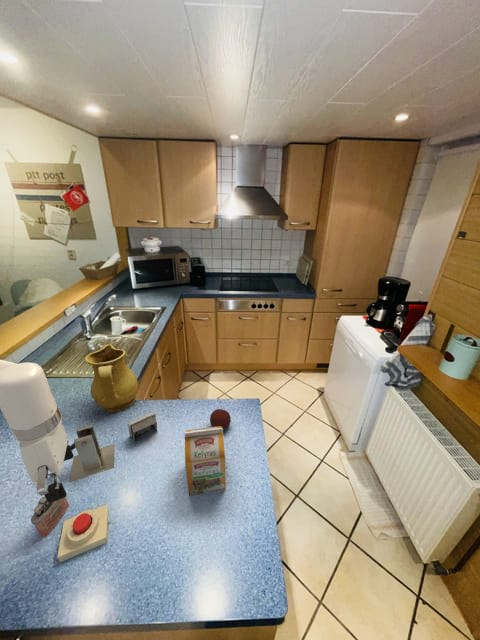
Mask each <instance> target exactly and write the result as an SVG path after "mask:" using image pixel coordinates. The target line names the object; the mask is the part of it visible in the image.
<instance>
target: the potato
mask: <svg viewBox="0 0 480 640" xmlns="http://www.w3.org/2000/svg"><path fill="white" fill-rule="evenodd" d="M231 421H232V420H231V414H230V412H229V411H227V410H225V409H223V408H217V409H214V410H213V411H212V412H211V414H210V416H209V423H210V425H211V426H210V427H218V426H222V428H223V431H224V430H226V429H227V428H228V427H230V425H231Z"/></svg>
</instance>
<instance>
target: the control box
mask: <svg viewBox="0 0 480 640" xmlns="http://www.w3.org/2000/svg"><path fill="white" fill-rule="evenodd" d="M109 510H110V509H109V504H105V505H101V506H99V507H97V508H94V509H86V510H82V511H81V512H79V513H78V514H77V515H76V516H73V517H71V518H67V519H65V520H63V525H62V530H61V536H60V540H59V545H58V552H57V557H56V558H57V560H58V562H59V563H63V562H65V561H66V560H70V559H71V558H74V557H76V556H78V555H81V554H83V553H86V552H88V551H90V550H92V549H95V548H97V547H99V546H102V545H105V544H107V543H109V529H110V528H109V525H110V524H109ZM83 513H87V514H89V516H90V518H91V525H90V527H89V528H88V530H86V531H85V532H84V533H82V534H77V533H75V531H74V529H73V522H74V520H75V519H76V518H77V517H78V516H79V515H81V514H83Z"/></svg>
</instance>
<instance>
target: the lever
mask: <svg viewBox="0 0 480 640" xmlns="http://www.w3.org/2000/svg"><path fill="white" fill-rule="evenodd" d="M92 434H93V433H91V432H89V431H87V430H86V431H84V432H83V433H82V434H80V435H79V436H77V439H78V438H82V437H85V436H89V435H92ZM70 447H71V450H72V451H74V450H76V447H75V444H74V442H73V443H72V444H71V445H70Z"/></svg>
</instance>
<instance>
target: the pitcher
mask: <svg viewBox="0 0 480 640" xmlns="http://www.w3.org/2000/svg"><path fill="white" fill-rule="evenodd" d="M126 353H127V352H126V350H125V349H122V348H115V347H114V346H113V344H112V343H107V344H105V345H104V346H103V347H102V348H100V349H98V350H96V351H93V352H90V353H88V355H85V357H84V362H86V363H87V364H88V365H91V366H92V369H93V380H92V382H91V385H90V396H91V398H92V399H93V401H94V402H95V403H96V404H97V406H99V407H101V408H102V409H103V410H104V411H106V412H109V413H117V412H122V411H123V412H124V410H126V409H128V408H130V407H131V406H132V405H133V404H134V403H135V401H136V399H137V394H138V391H139V379H138V377H137V375H136V373H135V372H134V370H132V369H131V368H129V367H128V366H127V364H126V362H125V358H124V357H125V355H126Z"/></svg>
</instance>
